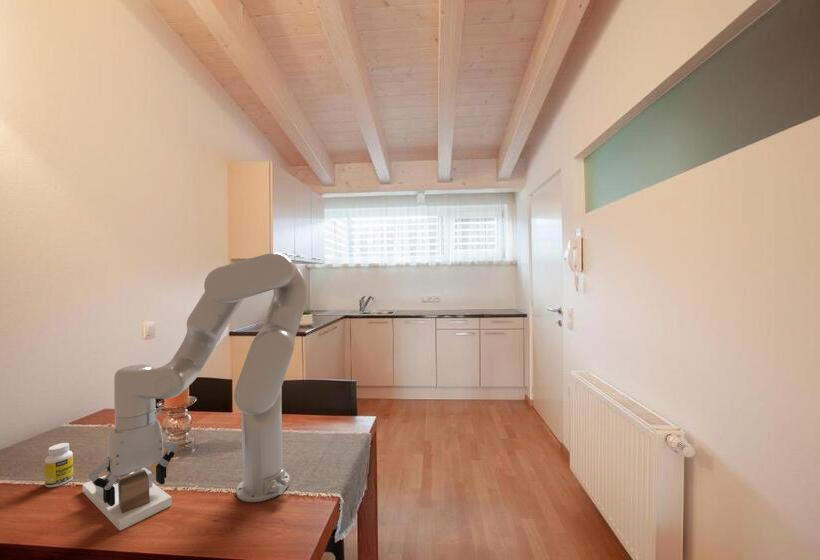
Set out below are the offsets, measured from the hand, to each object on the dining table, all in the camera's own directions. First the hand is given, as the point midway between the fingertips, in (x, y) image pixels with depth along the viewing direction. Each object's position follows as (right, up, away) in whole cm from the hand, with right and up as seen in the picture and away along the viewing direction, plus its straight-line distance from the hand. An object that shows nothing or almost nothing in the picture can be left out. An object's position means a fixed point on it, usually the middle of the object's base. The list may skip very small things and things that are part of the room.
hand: (136, 492), depth 82 cm
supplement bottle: (-31, -5, +13) cm, 34 cm away
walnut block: (0, -2, 0) cm, 2 cm away
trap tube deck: (-7, -4, +5) cm, 9 cm away
